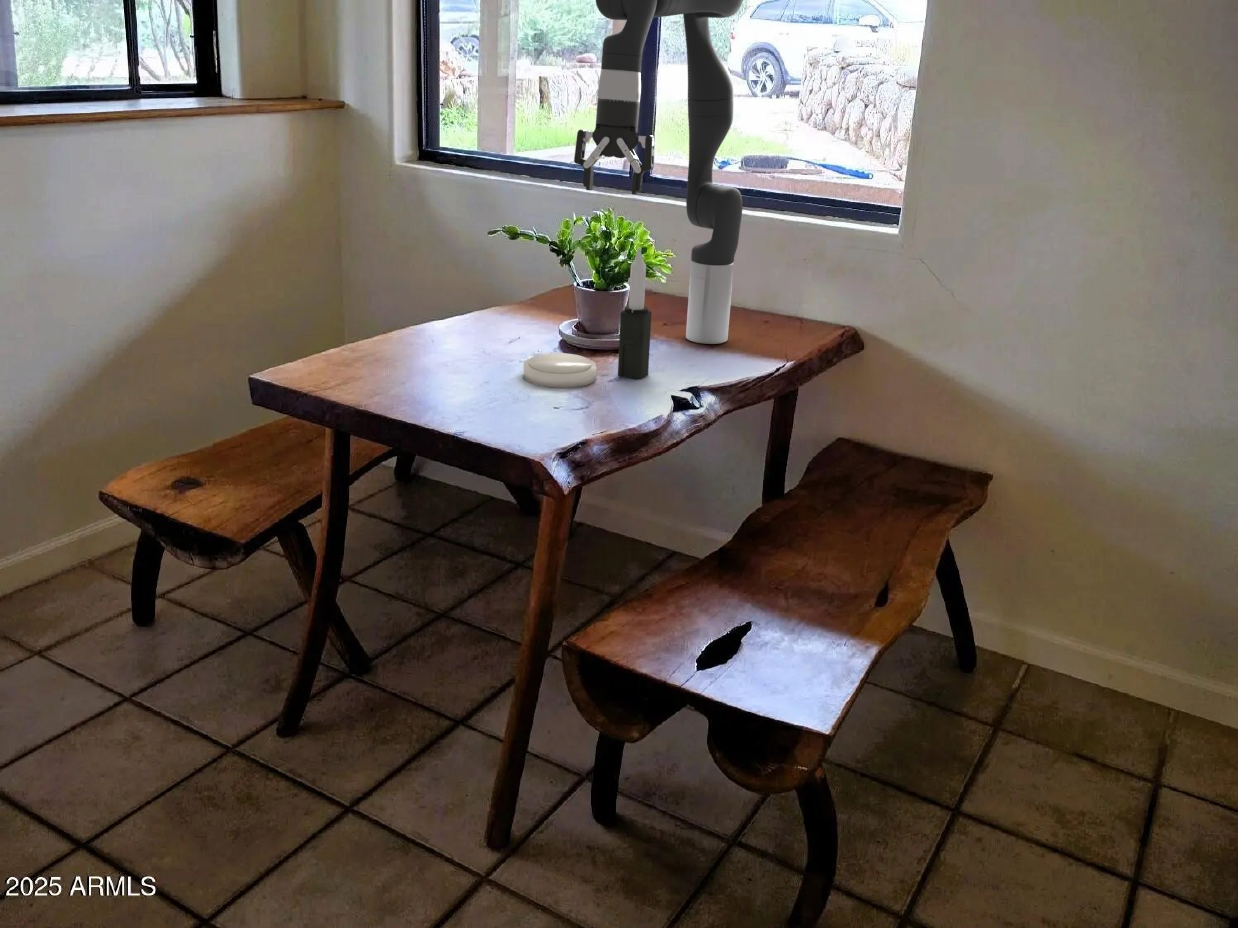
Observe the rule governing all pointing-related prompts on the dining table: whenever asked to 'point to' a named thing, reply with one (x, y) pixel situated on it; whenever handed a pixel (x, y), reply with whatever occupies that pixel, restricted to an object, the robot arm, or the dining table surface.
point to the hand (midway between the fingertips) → (611, 192)
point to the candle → (635, 326)
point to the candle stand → (559, 370)
